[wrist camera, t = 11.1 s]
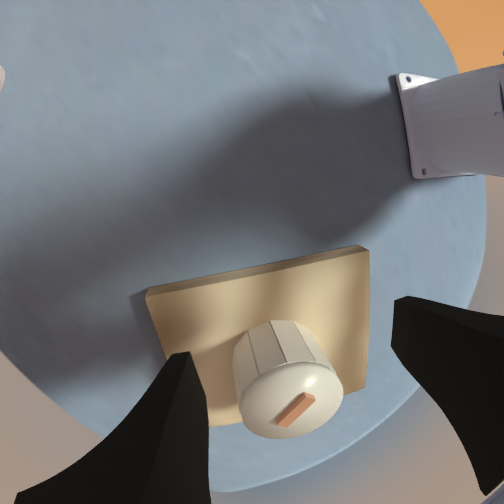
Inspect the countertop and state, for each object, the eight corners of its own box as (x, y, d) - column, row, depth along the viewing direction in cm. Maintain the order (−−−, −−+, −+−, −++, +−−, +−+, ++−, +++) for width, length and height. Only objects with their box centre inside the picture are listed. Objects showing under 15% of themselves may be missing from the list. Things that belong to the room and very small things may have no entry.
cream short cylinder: (266, 305, 17) (289, 356, 12) (330, 342, 19) (365, 391, 13) (216, 368, 18) (221, 428, 13) (281, 396, 19) (300, 450, 14)
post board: (356, 243, 19) (400, 267, 14) (356, 376, 22) (383, 414, 17) (149, 286, 17) (130, 326, 13) (197, 414, 21) (197, 462, 16)
